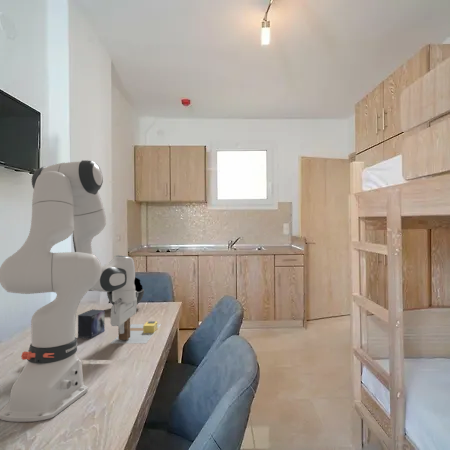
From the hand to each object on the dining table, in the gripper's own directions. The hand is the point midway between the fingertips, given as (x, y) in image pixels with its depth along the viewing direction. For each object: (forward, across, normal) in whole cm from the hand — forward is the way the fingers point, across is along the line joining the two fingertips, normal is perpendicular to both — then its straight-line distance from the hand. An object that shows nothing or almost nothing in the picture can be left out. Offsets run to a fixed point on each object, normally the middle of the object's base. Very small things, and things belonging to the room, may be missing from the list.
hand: (124, 331), depth 139 cm
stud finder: (+3, +13, -7) cm, 15 cm away
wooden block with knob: (+3, 0, 0) cm, 3 cm away
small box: (+5, +7, +16) cm, 19 cm away
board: (+5, +9, -3) cm, 11 cm away
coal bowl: (+4, +57, +19) cm, 60 cm away
